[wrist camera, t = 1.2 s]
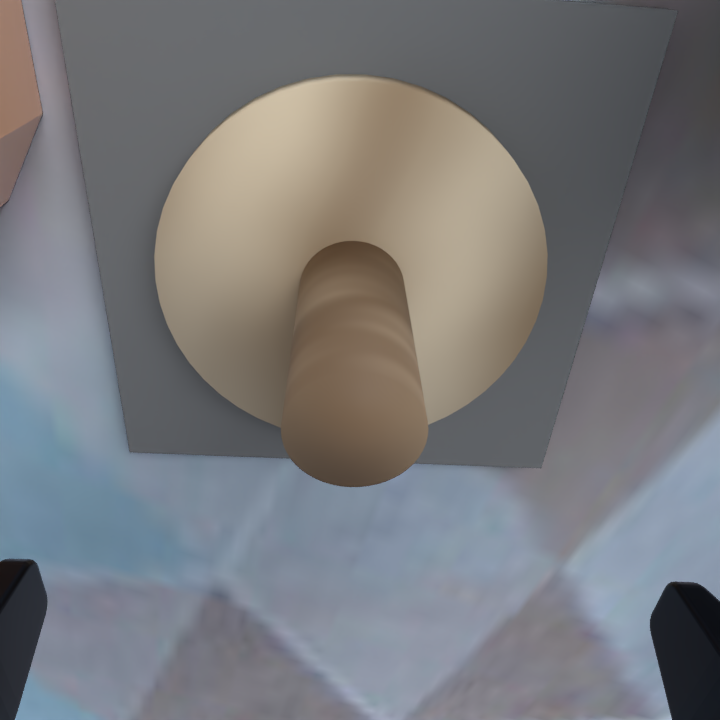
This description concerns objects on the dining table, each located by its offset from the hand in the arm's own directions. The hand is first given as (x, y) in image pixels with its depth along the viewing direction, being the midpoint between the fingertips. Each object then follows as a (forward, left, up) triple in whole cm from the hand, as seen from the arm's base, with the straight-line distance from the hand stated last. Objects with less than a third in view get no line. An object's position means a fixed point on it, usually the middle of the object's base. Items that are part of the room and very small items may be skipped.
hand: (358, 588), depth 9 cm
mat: (0, 0, -11) cm, 11 cm away
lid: (0, 0, -11) cm, 11 cm away
